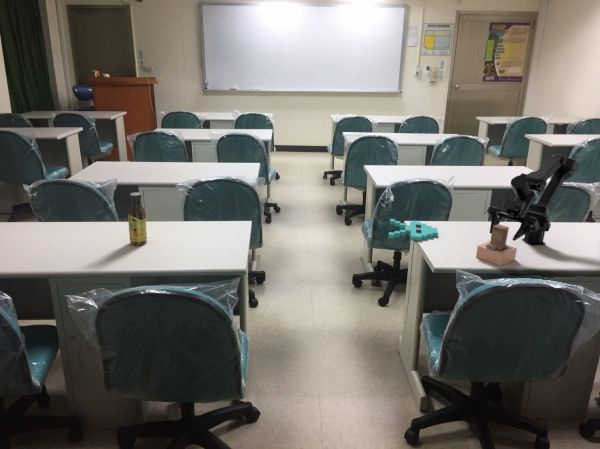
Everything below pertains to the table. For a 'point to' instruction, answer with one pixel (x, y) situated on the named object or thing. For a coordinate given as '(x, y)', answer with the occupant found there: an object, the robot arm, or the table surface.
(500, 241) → the walnut stick
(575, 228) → the table surface
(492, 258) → the box
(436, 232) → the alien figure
